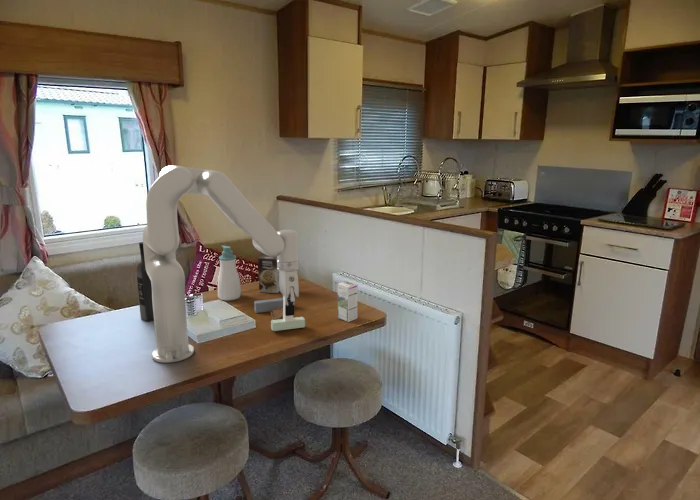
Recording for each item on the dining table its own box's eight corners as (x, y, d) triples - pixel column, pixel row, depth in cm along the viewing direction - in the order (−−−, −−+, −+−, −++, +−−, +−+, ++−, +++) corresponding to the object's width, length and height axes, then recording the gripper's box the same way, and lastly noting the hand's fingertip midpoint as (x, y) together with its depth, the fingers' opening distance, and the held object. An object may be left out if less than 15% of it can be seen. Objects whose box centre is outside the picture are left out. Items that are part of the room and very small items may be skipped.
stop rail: (294, 307, 188) (294, 298, 187) (255, 312, 182) (255, 303, 181) (292, 305, 191) (292, 296, 190) (254, 310, 185) (254, 301, 184)
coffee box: (258, 292, 208) (257, 258, 204) (263, 288, 214) (262, 254, 210) (277, 293, 206) (276, 259, 203) (282, 289, 213) (281, 255, 209)
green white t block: (302, 324, 170) (302, 291, 167) (304, 327, 167) (305, 293, 164) (270, 328, 165) (270, 294, 162) (272, 331, 163) (272, 296, 160)
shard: (273, 322, 174) (273, 318, 173) (258, 318, 178) (258, 314, 177) (291, 314, 182) (291, 310, 182) (277, 310, 187) (277, 306, 186)
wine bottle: (147, 322, 172) (140, 244, 165) (139, 318, 175) (132, 242, 168) (161, 317, 176) (154, 242, 169) (153, 314, 179) (146, 240, 173)
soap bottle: (234, 292, 207) (231, 243, 202) (245, 297, 200) (242, 247, 195) (214, 297, 201) (211, 246, 195) (224, 302, 194) (221, 250, 188)
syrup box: (357, 318, 178) (358, 283, 174) (347, 322, 173) (348, 286, 170) (347, 314, 181) (347, 280, 178) (337, 318, 177) (337, 283, 174)
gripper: (304, 269, 155) (305, 320, 159) (291, 258, 170) (292, 305, 174) (283, 271, 152) (284, 323, 156) (271, 260, 167) (273, 307, 171)
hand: (288, 313), depth 165 cm, fingers closed on green white t block, 3 cm apart
